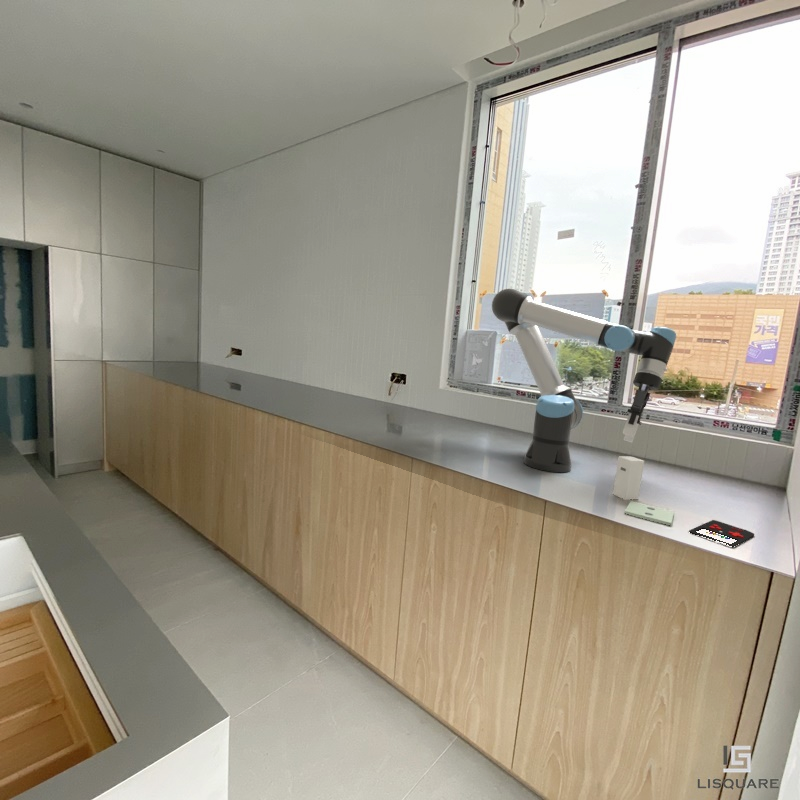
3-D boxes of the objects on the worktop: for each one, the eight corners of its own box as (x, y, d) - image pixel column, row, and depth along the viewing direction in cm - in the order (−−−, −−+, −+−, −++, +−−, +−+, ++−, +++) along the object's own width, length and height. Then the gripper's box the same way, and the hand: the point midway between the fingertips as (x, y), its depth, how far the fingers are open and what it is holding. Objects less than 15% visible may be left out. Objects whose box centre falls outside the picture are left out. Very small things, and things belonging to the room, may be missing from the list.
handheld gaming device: (756, 532, 105) (733, 545, 96) (755, 537, 105) (732, 551, 96) (713, 518, 112) (688, 529, 103) (712, 523, 112) (687, 534, 103)
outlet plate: (624, 513, 111) (624, 510, 111) (630, 503, 119) (630, 500, 119) (670, 526, 106) (671, 523, 106) (673, 514, 114) (674, 511, 114)
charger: (612, 494, 126) (618, 456, 125) (625, 493, 128) (631, 456, 126) (624, 500, 122) (631, 460, 121) (638, 499, 124) (644, 460, 122)
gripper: (664, 366, 129) (640, 436, 128) (660, 388, 151) (640, 447, 150) (636, 360, 133) (613, 427, 132) (636, 382, 155) (616, 440, 153)
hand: (627, 438), depth 141 cm, fingers open, 13 cm apart
